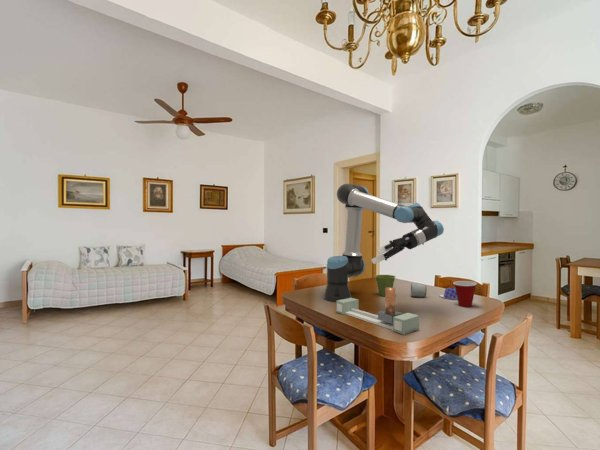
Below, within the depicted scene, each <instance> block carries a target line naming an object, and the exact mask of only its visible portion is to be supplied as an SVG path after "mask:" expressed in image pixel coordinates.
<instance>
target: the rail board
mask: <svg viewBox="0 0 600 450" xmlns="http://www.w3.org/2000/svg"><path fill="white" fill-rule="evenodd" d="M359 300H360V299H357V298H354V297H351V298H347V299H342V300H337V301H335V302H336V303H335V305H336V306H335V307H336V308H335V309H336V311H335V312H336V313H338V314H340V315H344V316H345V315H346V316H349V317H352V318H356V319H357V320H358V319H359V320H361V321H365V322H367V323H371V324H374V325H376V326H380V327H383V328H385V329H389V330H392V331H393V332H394V333H398V334H400V335H403V336H404V335H407V334H411V333H414V332H416V331H419V330H420V315H418V314H415V313H410V312H406V313H403V314H402V315H399V316H395V317H393V323H389V322H386V321H382V320H379V319H378V314H374V313H371V312H367V311H364V310H360V309H359V308H360V307H359V304H360V303H359V302H360V301H359Z"/></svg>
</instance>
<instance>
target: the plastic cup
mask: <svg viewBox="0 0 600 450" xmlns="http://www.w3.org/2000/svg"><path fill="white" fill-rule="evenodd" d="M452 284H453V285H454V288H455V289H456V293H457V298H458V299H457V302H458V305H459V306H460V307H463V308H464V307H465V308H471V307H472V305H473V302H474V296H475V291H476V286H477V284H478V283H477V282H476V281H471V280H458V281H457V280H456V281H453V283H452Z"/></svg>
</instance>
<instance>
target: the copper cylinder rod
mask: <svg viewBox="0 0 600 450" xmlns="http://www.w3.org/2000/svg"><path fill="white" fill-rule="evenodd" d="M384 297H385V298H384V299H385V303H384V307H385V309H384V310H380V311H377V315H378V319H379V320H382V321H386V322H389V323H393V317H395V316H399V315H402V314H404V313H403V312H400V311H396V288H395V287H393V288H391V287H387V288H385V296H384Z"/></svg>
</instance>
